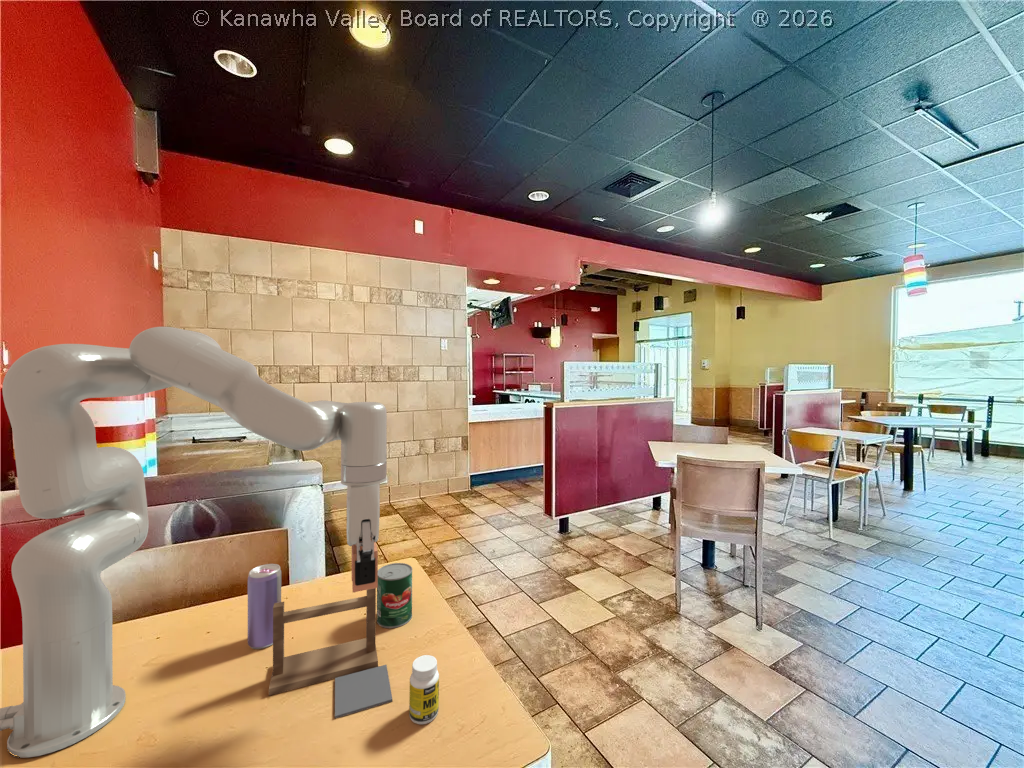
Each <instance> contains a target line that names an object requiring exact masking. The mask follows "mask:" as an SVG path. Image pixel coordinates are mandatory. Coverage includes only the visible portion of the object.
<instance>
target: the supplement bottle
mask: <svg viewBox="0 0 1024 768" xmlns="http://www.w3.org/2000/svg"><path fill="white" fill-rule="evenodd" d="M411 666H412V667H411V668H412V670H411V674H410V677H409V701H408V703H409V706H408V708H409V710H408V714H409V719H410V720H411V722H413V723H414V724H417V725H426V724H429V723H431V722H432V721H433V720H435V719H436V717H437V715H438V713H439V709H440V708H439V703H440V702H439V698H440V697H439V695H440V692H439V691H440V674H439V670H438V660H437V658H436V657H435V656H433V655H428V654H424V655H421V656H418V657H416V658H415V659H414V660H413V661H412V665H411Z"/></svg>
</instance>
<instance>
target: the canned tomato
mask: <svg viewBox="0 0 1024 768" xmlns="http://www.w3.org/2000/svg"><path fill="white" fill-rule="evenodd" d="M412 618H413V567H412V566H411V565H410V564H408V563H403V562H395V563H390V564H386V565H384V566H381V567H380V568H378V588H376V622H377V623H376V624H378V625H379V626H380V627H381V628H385V629H396V628H400V627H402V626H404V625H407V624H408V623H409V622H410V621H411V619H412Z"/></svg>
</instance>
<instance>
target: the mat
mask: <svg viewBox="0 0 1024 768" xmlns="http://www.w3.org/2000/svg"><path fill="white" fill-rule="evenodd" d="M387 665H388V664H383V665H380V666H379V665H378V667H375V668H371V669H367V670H364V671H360V672H356V673H352V674H349V675H345V676H341V677H337V678H334V718H335V719H339V718H341V717H345V716H348V715H352V714H355V713H358V712H362V711H365V710H368V709H373V708H375V707H378V706H382V705H385V704H389V703H391V702H393V694H392V689H391V683H390V677H389V671H388V666H387Z"/></svg>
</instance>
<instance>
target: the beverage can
mask: <svg viewBox="0 0 1024 768" xmlns="http://www.w3.org/2000/svg"><path fill="white" fill-rule="evenodd" d="M279 602H282V570H281V566H280V565H279V564H277V563H265V564H261V565H258V566H256V567H254V568H252V569H251V570H249V572H248V576H247V645H248V646H249V648H251V649H252V650H262V649H265V648H269V647H272V646H273V606H274V603H279Z"/></svg>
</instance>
